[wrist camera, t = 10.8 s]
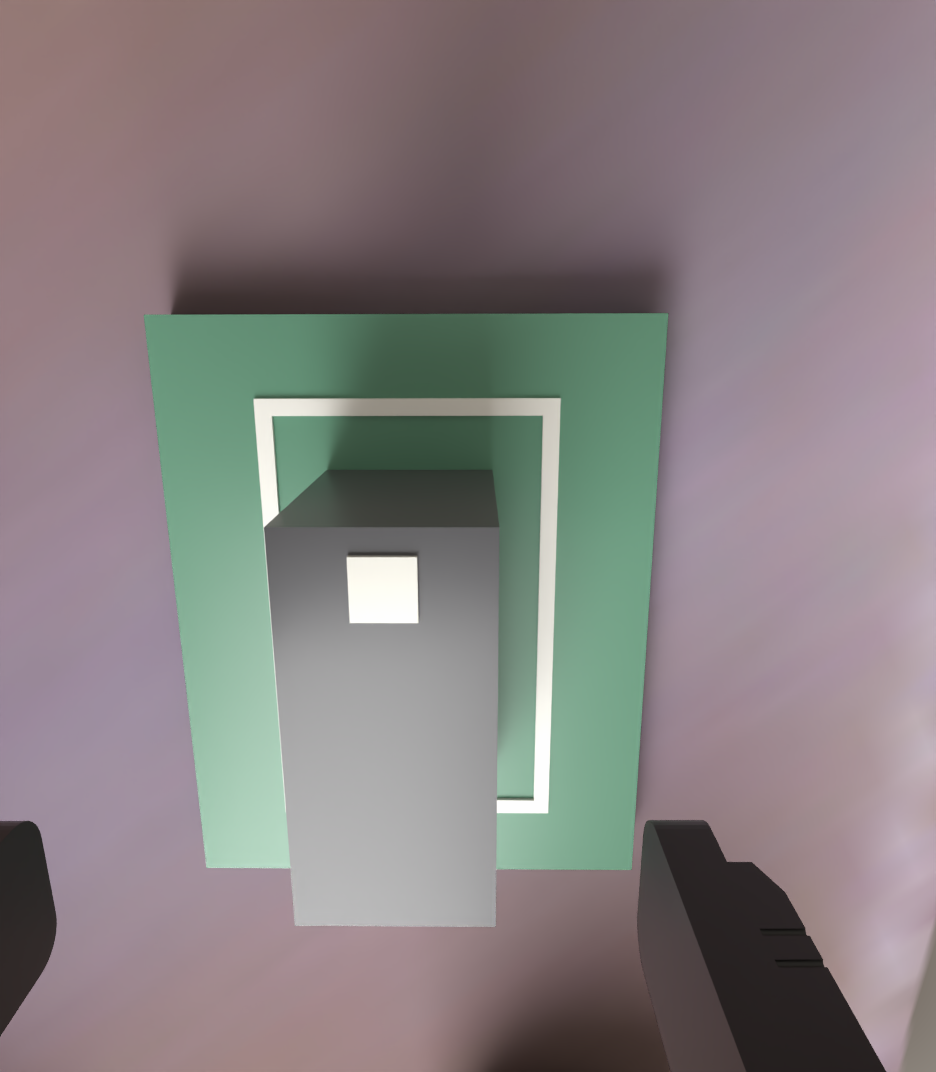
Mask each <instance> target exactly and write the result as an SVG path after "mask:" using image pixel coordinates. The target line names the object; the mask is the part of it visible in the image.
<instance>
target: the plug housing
mask: <svg viewBox="0 0 936 1072" xmlns="http://www.w3.org/2000/svg"><path fill="white" fill-rule="evenodd" d="M264 536H265V548H266V561H267V574H268V587H269V600H270V613H271V625H272V638H273V651H274V664H275V677H276V690H277V702H278V715H279V728H280V741H281V754H282V767H283V779H284V792H285V805H286V818H287V831H288V843H289V856H290V869H291V882H292V895H293V908H294V920H295V926H440V927H496V848H497V739H498V631H499V520H498V511H497V503H496V495H495V487H494V479H493V470H326V471H325V472H324V473H323V474H322V475H321V476H320V477H318V478H317V479H316V480H315V481H314V482H313V483H312V484H311V485H310V486H309V487H307V488H306V489H305V490H304V491H303V492H302V493H301V494H300V495H299V496H298V497H297V498H295V499H294V500H293V501H292V502H291V503H290V504H289V505H288V506H287V507H286V508H284V509H283V510H282V511H281V512H280V513H279V514H278V515H277V516H276V517H275V518H274V519H272V520H271V521H270V522H269V523H268V524H267V525H266V526H265V527H264Z"/></svg>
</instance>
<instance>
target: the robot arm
mask: <svg viewBox="0 0 936 1072" xmlns="http://www.w3.org/2000/svg"><path fill="white" fill-rule="evenodd" d="M56 926H57V922H56V912H55V906H54V901H53V896H52V890H51V885H50V880H49V875H48V869H47V864H46V859H45V853H44V848H43V843H42V838H41V834H40V831H39V829H38V827H37V826H36V824H34V823H33V822H30V821H0V1036H1V1034H2V1033H3V1031H4V1030H5V1028H6V1027H7V1025H8V1024H9V1022H10V1021H11V1019H12V1018H13V1016H14V1015H15V1013H16V1011H17V1010H18V1008H19V1007H20V1005H21V1004H22V1002H23V1001H24V999H25V998H26V996H27V995H28V993H29V992H30V990H31V989H32V987H33V986H34V984H35V983H36V981H37V979H38V978H39V976H40V975H41V973H42V972H43V970H44V968H45V966H46V964H47V962H48V960H49V957H50V955H51V952H52V949H53V945H54V941H55V935H56ZM637 927H638V942H639V951H640V957H641V963H642V968H643V972H644V976H645V979H646V983H647V987H648V990H649V994H650V998H651V1001H652V1005H653V1008H654V1012H655V1016H656V1019H657V1023H658V1027H659V1030H660V1034H661V1038H662V1041H663V1045H664V1049H665V1052H666V1056H667V1060H668V1063H669V1067H670V1070H671V1072H886V1071H885V1069H884V1067H883V1065H882V1064H881V1062H880V1060H879V1058H878V1056H877V1055H876V1053H875V1051H874V1049H873V1048H872V1046H871V1044H870V1042H869V1040H868V1039H867V1037H866V1035H865V1033H864V1032H863V1030H862V1028H861V1026H860V1024H859V1023H858V1021H857V1019H856V1017H855V1016H854V1014H853V1012H852V1010H851V1009H850V1007H849V1005H848V1003H847V1001H846V1000H845V998H844V996H843V994H842V993H841V991H840V989H839V987H838V985H837V984H836V982H835V980H834V978H833V977H832V975H831V973H830V971H829V969H828V968H827V967H824V965H823V959H822V957H821V955H820V953H819V952H818V950H817V948H816V946H815V945H814V943H813V941H812V939H811V937H810V936H807V935H806V931H805V927H804V925H803V923H802V921H801V920H800V918H799V916H798V914H797V913H796V911H795V909H794V907H793V906H792V904H791V902H790V900H789V898H788V897H787V895H786V893H785V892H784V891H783V890H782V889H781V888H780V887H779V886H778V885H776V884H775V883H774V882H773V881H772V880H771V879H770V878H769V877H768V876H766V875H765V874H764V873H763V872H762V871H761V870H760V869H759V868H758V867H756V866H755V865H754V864H753V863H752V862H727V861H726V859H725V857H724V855H723V853H722V851H721V849H720V847H719V844H718V842H717V840H716V838H715V836H714V834H713V832H712V830H711V828H710V826H709V825H708V823H707V822H706V821H704V820H648V821H647V822H646V824H645V827H644V834H643V846H642V860H641V874H640V887H639V901H638V916H637Z"/></svg>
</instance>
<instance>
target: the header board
mask: <svg viewBox="0 0 936 1072" xmlns="http://www.w3.org/2000/svg"><path fill="white" fill-rule="evenodd" d="M144 321H145V330H146V339H147V348H148V357H149V365H150V374H151V383H152V392H153V401H154V409H155V418H156V427H157V436H158V445H159V453H160V462H161V471H162V480H163V489H164V497H165V506H166V515H167V524H168V533H169V541H170V550H171V559H172V568H173V577H174V585H175V594H176V603H177V612H178V621H179V629H180V638H181V647H182V656H183V665H184V673H185V682H186V691H187V700H188V708H189V717H190V726H191V735H192V744H193V752H194V761H195V770H196V779H197V788H198V796H199V805H200V814H201V823H202V832H203V840H204V849H205V858H206V867H207V868H290V856H289V843H288V831H287V818H286V805H285V792H284V779H283V767H282V754H281V741H280V728H279V715H278V702H277V690H276V677H275V664H274V651H273V638H272V625H271V613H270V600H269V587H268V574H267V561H266V548H265V536H264V527H265V526H266V525H267V524H268V523H269V522H270V521H271V520H272V519H274V518H275V517H276V516H277V515H278V514H279V513H280V512H281V511H282V510H283V509H284V508H286V507H287V506H288V505H289V504H290V503H291V502H292V501H293V500H294V499H295V498H297V497H298V496H299V495H300V494H301V493H302V492H303V491H304V490H305V489H306V488H307V487H309V486H310V485H311V484H312V483H313V482H314V481H315V480H316V479H317V478H318V477H320V476H321V475H322V474H323V473H324V472H325V471H326V470H493V479H494V487H495V495H496V503H497V511H498V520H499V631H498V739H497V848H496V869H555V870H632V855H633V840H634V824H635V809H636V794H637V779H638V764H639V749H640V734H641V719H642V704H643V688H644V673H645V658H646V643H647V628H648V613H649V598H650V583H651V567H652V552H653V537H654V522H655V507H656V492H657V477H658V462H659V447H660V431H661V416H662V401H663V386H664V371H665V356H666V341H667V326H668V313H564V314H228V315H144Z"/></svg>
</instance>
